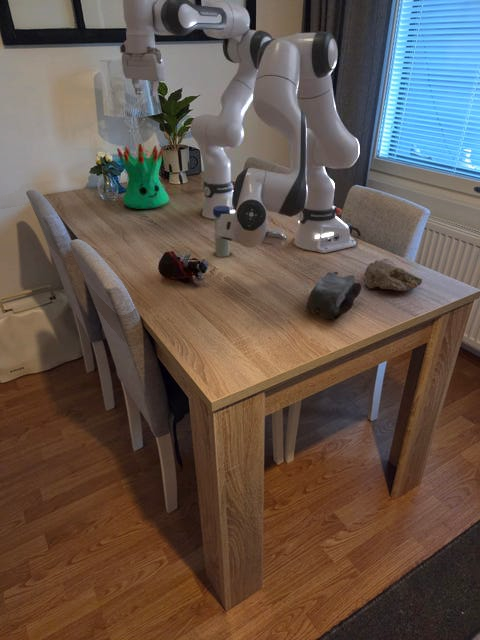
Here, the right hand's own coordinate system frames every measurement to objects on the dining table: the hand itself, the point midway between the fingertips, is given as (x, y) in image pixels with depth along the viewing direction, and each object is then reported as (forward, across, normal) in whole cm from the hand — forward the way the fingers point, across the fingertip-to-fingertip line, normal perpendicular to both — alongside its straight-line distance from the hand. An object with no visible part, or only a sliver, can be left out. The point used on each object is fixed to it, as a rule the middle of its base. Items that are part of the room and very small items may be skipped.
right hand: (248, 241), depth 134 cm
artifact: (+3, -44, +5) cm, 44 cm away
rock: (-10, -27, +17) cm, 33 cm away
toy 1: (+68, +50, -24) cm, 88 cm away
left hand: (+13, +42, -46) cm, 64 cm away
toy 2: (+4, +18, +15) cm, 24 cm away
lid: (+13, +11, -12) cm, 20 cm away
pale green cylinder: (+22, +9, +2) cm, 23 cm away
